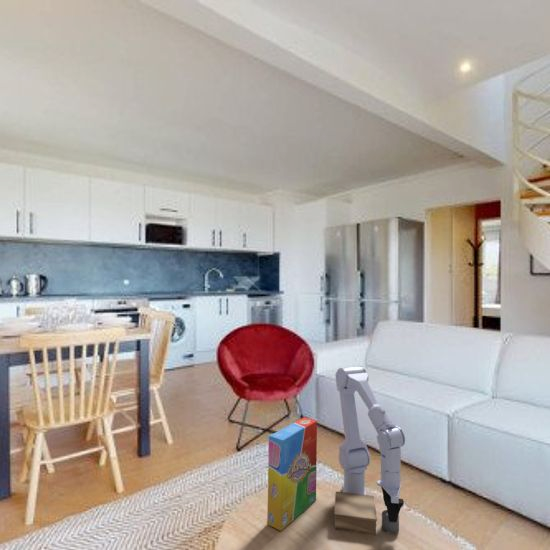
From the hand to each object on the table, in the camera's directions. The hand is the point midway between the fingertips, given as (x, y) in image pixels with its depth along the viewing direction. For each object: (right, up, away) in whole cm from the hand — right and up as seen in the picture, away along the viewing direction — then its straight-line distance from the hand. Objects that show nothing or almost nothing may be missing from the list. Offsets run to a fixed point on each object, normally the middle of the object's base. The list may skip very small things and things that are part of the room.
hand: (390, 513), depth 113 cm
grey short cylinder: (0, -5, 0) cm, 5 cm away
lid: (-10, 0, +4) cm, 11 cm away
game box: (-29, -5, +8) cm, 31 cm away
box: (-10, -4, +4) cm, 12 cm away
